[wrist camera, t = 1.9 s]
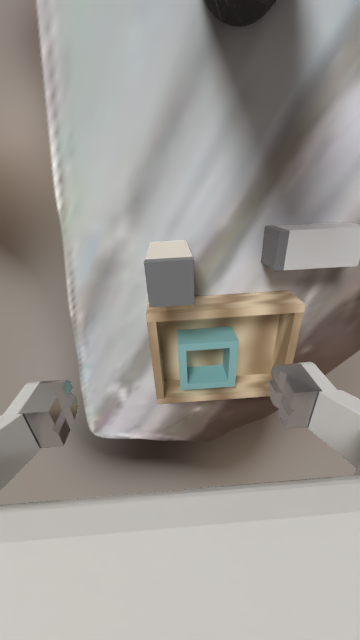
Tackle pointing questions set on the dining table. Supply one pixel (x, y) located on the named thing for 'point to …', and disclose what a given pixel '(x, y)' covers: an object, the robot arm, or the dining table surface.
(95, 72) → the dining table surface
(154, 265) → the ivory connector
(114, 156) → the dining table surface
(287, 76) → the dining table surface
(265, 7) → the travel mug
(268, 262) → the grey plug
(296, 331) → the birch crate
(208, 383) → the teal socket
